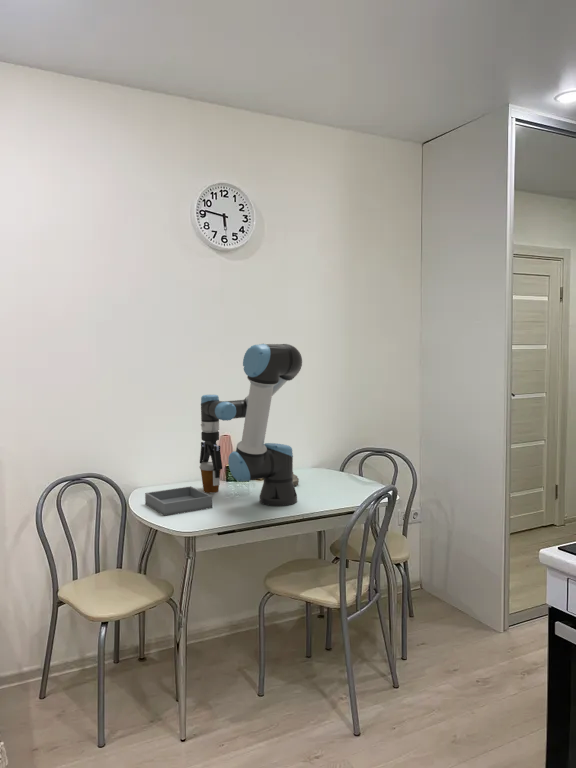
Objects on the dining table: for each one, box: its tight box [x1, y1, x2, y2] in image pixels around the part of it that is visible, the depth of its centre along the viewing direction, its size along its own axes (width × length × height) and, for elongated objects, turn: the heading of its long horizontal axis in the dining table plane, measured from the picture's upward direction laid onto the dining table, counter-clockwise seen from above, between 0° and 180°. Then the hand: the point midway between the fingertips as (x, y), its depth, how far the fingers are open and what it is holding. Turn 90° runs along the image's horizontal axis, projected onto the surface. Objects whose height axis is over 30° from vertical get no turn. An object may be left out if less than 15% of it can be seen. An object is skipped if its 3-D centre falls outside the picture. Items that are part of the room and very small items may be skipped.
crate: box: [144, 486, 213, 517], centre depth 240 cm, size 20×20×4 cm
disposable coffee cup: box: [199, 461, 222, 494], centre depth 263 cm, size 10×10×12 cm
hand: (210, 482), depth 263 cm, fingers closed on disposable coffee cup, 9 cm apart
